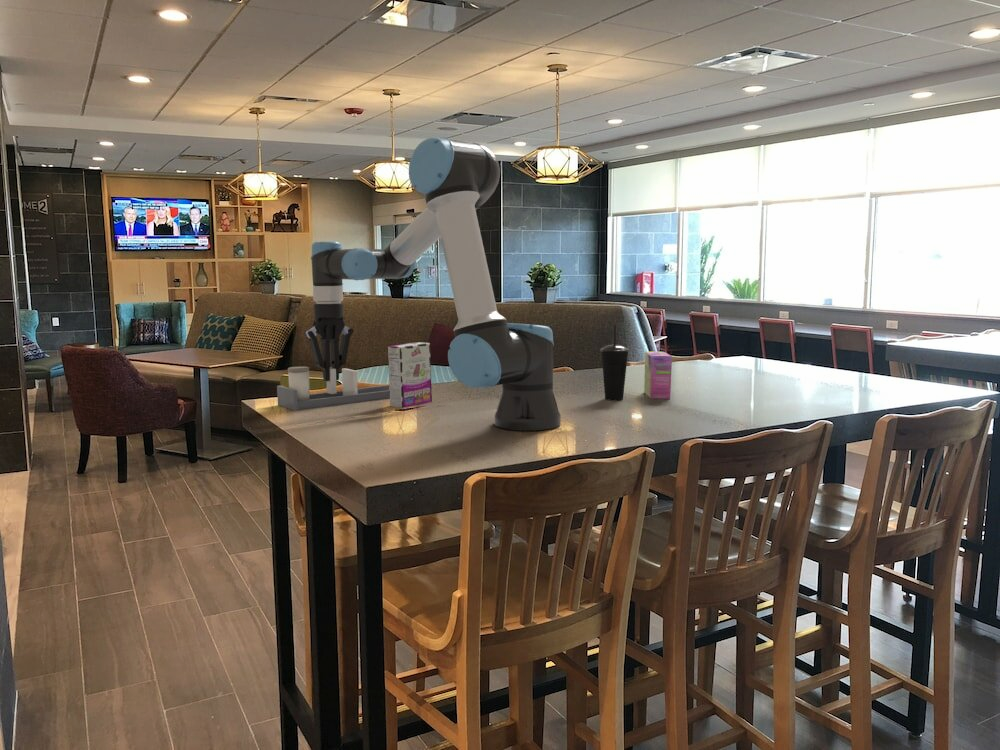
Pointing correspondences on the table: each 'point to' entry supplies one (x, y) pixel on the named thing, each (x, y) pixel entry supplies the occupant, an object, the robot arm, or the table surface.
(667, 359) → the box
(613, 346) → the drinking cup
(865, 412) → the table surface
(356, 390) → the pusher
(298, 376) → the jar
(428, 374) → the candy bar box
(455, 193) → the robot arm
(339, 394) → the lane
